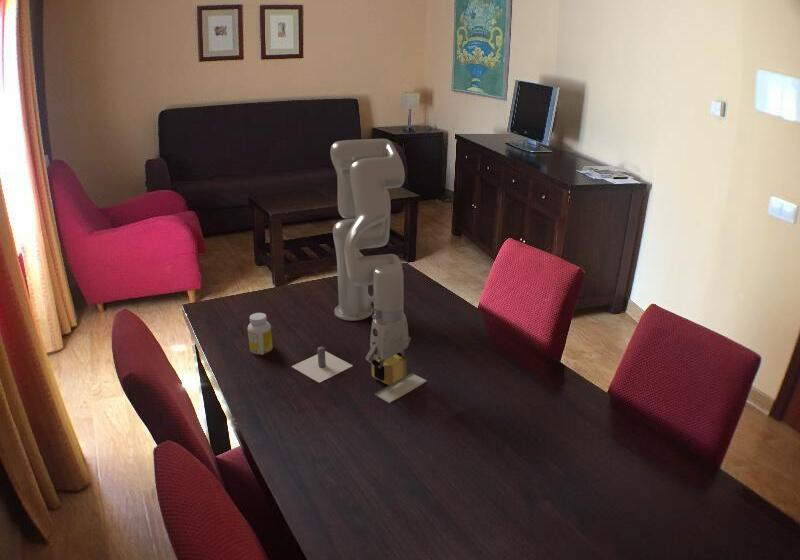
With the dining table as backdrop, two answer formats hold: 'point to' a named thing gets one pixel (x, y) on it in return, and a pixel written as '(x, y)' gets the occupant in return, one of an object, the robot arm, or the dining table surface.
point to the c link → (393, 369)
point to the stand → (322, 366)
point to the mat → (400, 387)
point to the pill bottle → (259, 334)
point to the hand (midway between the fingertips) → (389, 373)
